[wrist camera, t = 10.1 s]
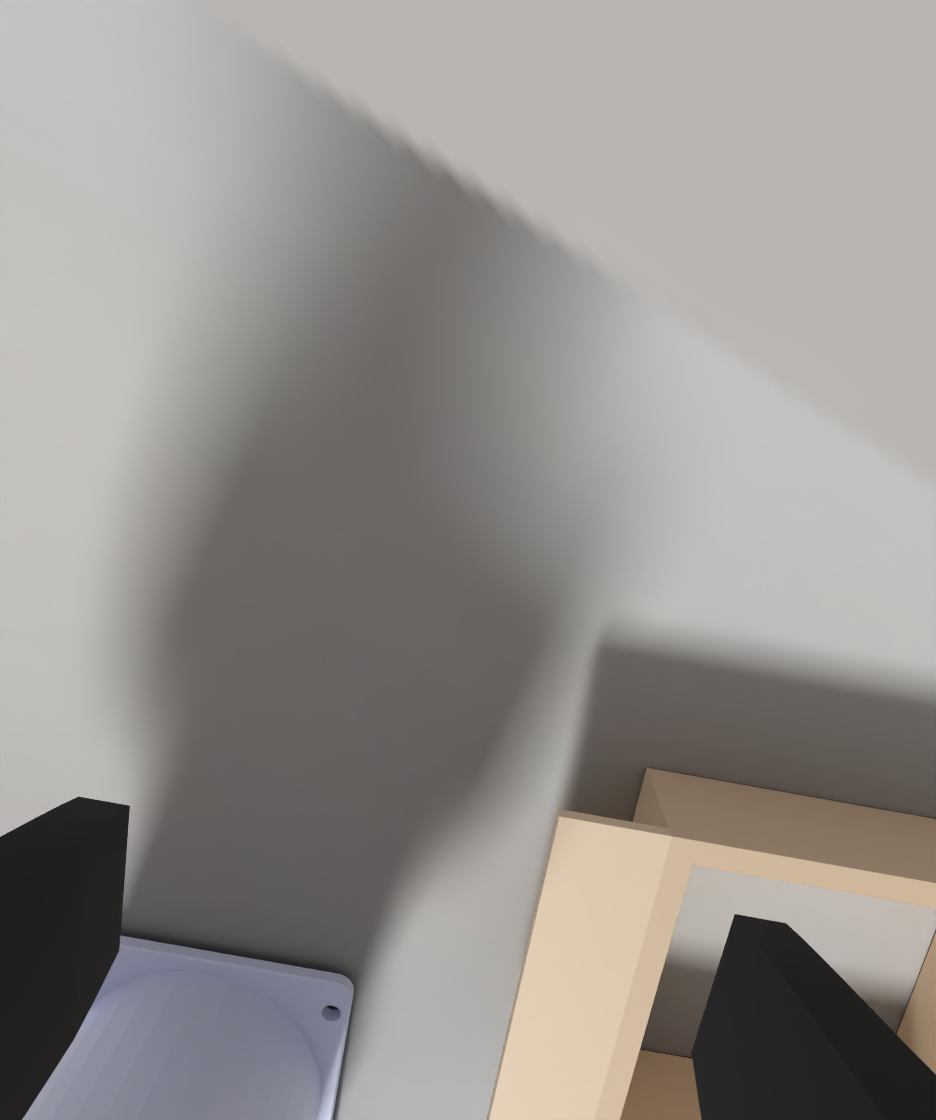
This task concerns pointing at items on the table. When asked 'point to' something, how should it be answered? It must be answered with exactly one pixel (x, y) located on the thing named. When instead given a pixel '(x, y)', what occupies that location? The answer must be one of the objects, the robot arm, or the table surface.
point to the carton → (647, 927)
